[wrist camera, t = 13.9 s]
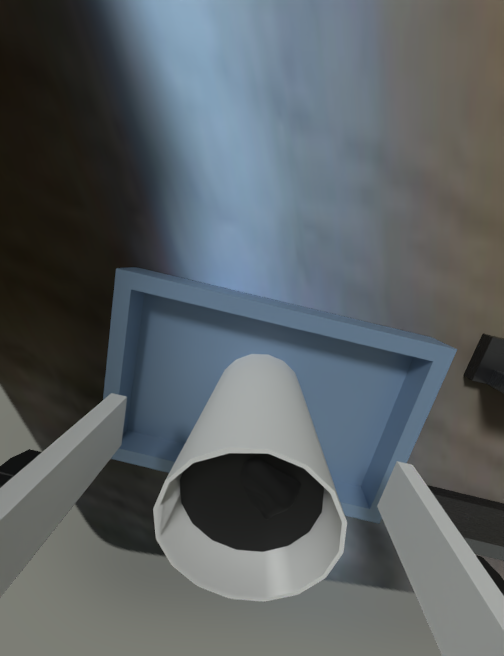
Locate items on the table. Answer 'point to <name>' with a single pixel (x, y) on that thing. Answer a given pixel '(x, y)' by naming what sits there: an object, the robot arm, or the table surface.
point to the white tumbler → (252, 491)
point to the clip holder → (468, 511)
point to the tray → (280, 342)
